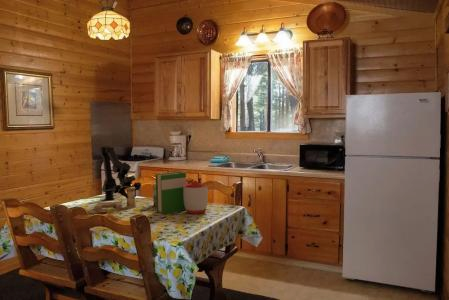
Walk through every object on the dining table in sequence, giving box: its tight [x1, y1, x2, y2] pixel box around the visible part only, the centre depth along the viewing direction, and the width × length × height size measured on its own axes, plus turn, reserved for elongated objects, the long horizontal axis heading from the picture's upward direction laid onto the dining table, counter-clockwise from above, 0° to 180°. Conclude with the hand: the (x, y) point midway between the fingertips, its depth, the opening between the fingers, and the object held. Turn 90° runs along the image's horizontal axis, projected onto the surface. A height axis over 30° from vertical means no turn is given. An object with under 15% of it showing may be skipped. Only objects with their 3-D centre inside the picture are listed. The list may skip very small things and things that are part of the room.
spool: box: [125, 187, 137, 209], centre depth 257 cm, size 6×6×13 cm
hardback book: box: [155, 171, 187, 215], centre depth 244 cm, size 18×7×24 cm, turn 128°
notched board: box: [95, 200, 123, 212], centre depth 259 cm, size 16×16×2 cm
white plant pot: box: [183, 180, 210, 215], centre depth 241 cm, size 16×17×20 cm
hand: (131, 197), depth 256 cm, fingers closed on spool, 5 cm apart
